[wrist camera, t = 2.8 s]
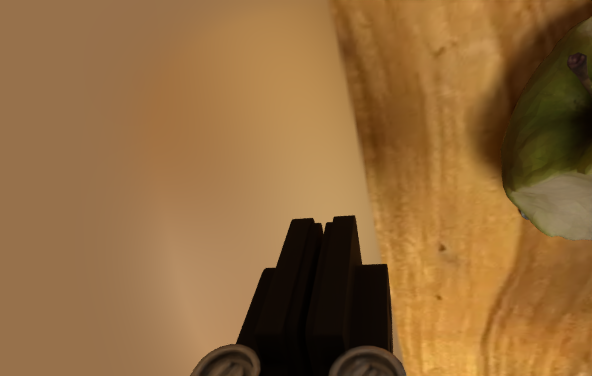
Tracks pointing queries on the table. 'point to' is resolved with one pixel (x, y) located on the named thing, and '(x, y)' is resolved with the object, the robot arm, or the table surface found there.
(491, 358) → the table surface
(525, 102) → the fruit
